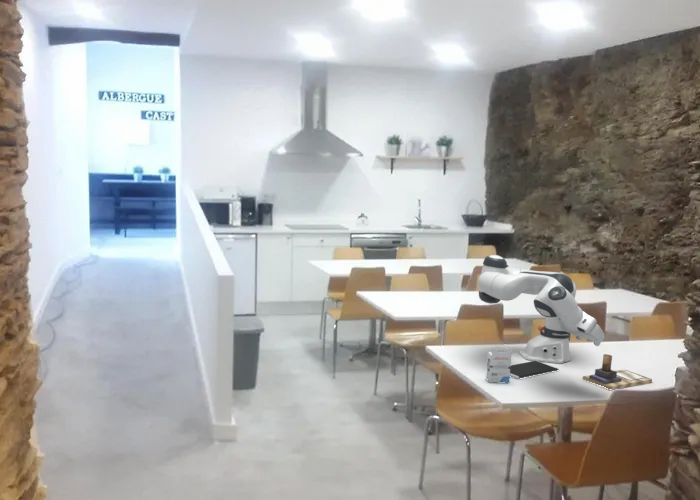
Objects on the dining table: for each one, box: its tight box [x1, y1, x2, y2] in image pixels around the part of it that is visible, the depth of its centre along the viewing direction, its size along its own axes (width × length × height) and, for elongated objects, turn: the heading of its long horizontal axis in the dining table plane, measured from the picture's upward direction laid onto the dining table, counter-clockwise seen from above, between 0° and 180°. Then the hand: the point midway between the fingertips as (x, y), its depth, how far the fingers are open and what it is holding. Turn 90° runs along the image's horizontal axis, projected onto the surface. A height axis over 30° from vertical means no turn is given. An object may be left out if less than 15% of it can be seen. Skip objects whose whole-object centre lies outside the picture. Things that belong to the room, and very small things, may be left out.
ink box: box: [485, 347, 512, 383], centre depth 284 cm, size 8×5×15 cm, turn 96°
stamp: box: [594, 353, 617, 380], centre depth 288 cm, size 6×6×9 cm
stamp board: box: [581, 369, 653, 390], centre depth 293 cm, size 26×14×3 cm, turn 119°
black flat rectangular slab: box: [510, 360, 560, 380], centre depth 301 cm, size 13×27×2 cm, turn 125°
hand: (588, 341), depth 280 cm, fingers open, 8 cm apart
